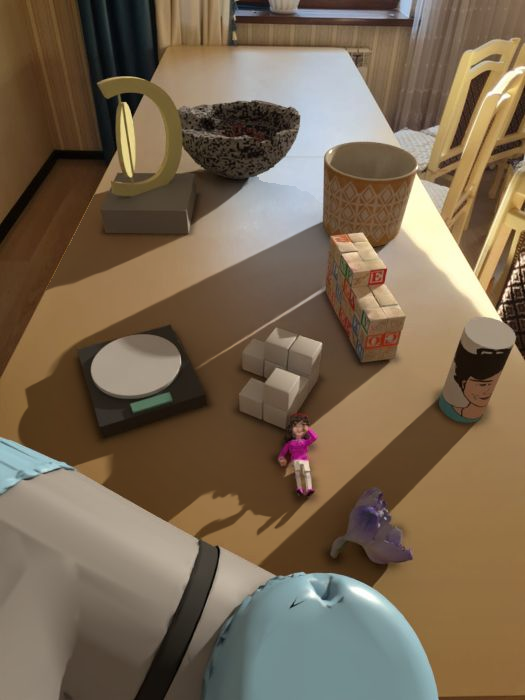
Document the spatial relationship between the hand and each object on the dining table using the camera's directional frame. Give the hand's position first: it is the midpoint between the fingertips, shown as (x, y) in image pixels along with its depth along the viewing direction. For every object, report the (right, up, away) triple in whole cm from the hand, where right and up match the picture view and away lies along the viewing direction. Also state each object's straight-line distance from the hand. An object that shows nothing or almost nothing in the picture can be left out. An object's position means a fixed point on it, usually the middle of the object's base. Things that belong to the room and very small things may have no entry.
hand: (151, 690), depth 45 cm
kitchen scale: (-10, +23, +42) cm, 49 cm away
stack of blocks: (+27, +33, +54) cm, 69 cm away
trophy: (-17, +61, +83) cm, 104 cm away
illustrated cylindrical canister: (+40, +19, +39) cm, 59 cm away
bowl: (+3, +76, +100) cm, 125 cm away
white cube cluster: (+10, +22, +41) cm, 47 cm away
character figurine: (+14, +13, +31) cm, 36 cm away
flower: (+22, +4, +22) cm, 31 cm away
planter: (+31, +55, +78) cm, 101 cm away
